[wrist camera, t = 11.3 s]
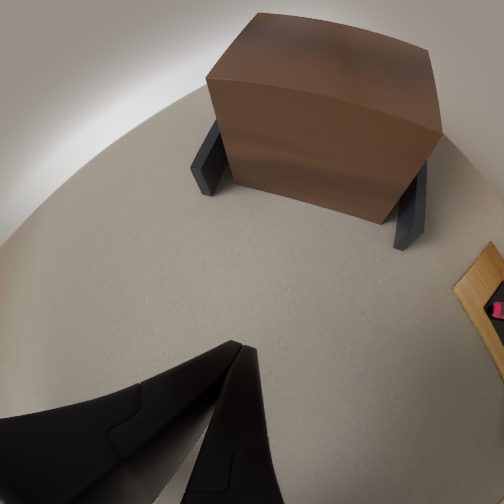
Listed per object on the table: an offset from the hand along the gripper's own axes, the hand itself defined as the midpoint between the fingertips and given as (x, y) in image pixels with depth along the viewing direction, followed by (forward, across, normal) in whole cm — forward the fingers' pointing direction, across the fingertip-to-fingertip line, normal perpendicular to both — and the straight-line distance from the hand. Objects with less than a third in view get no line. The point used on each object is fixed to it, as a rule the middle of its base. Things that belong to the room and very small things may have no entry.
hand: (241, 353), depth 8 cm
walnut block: (+17, 0, +4) cm, 17 cm away
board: (+11, +19, -2) cm, 22 cm away
